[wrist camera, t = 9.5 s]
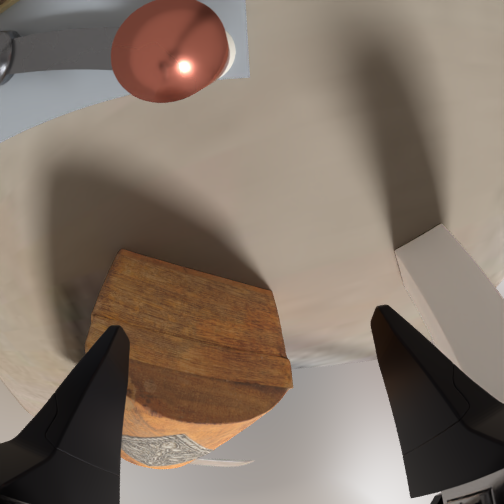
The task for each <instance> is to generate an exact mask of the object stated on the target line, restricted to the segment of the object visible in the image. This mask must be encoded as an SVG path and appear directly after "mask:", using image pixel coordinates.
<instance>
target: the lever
mask: <svg viewBox="0 0 504 504" xmlns="http://www.w3.org/2000/svg"><path fill="white" fill-rule="evenodd" d="M229 60H230V49H229V44H228V40H227V36H226V32H225V28H224V26H223V23H222V22H221V20H220V18H219V17H218V16H217V14H216V13H215V12H214V11H213V10H212V9H211V8H210V7H208V6H207V5H205V4H203V3H201V2H199V1H197V0H155V1H152V2H149V3H147V4H145V5H143V6H142V7H140V8H138V9H137V10H136V11H134V12H133V13H132V14H131V15H130V16H129V17H128V18H127V19H126V20H125V21H124V22H123V23H122V25H121V26H120V27H97V28H79V29H68V30H59V31H51V32H44V33H38V34H32V35H27V36H22V37H20V35H19V34H18V33H17V32H16V31H13V30H6V31H0V86H2V85H4V84H6V83H7V82H8V81H9V80H10V79H11V78H12V77H13V75H14V74H16V73H25V72H35V71H49V70H113V72H114V75H115V77H116V79H117V80H118V82H119V83H120V85H121V86H122V87H123V88H124V89H125V90H126V91H127V92H129V93H130V94H132V95H133V96H135V97H137V98H139V99H142V100H145V101H149V102H157V103H166V102H173V101H178V100H181V99H184V98H186V97H189V96H191V95H193V94H195V93H196V92H198V91H200V90H201V89H203V88H204V87H206V86H208V85H209V84H211V83H213V82H214V81H216V80H217V79H218V78H219V77H220V76H221V75H222V74H223V73H224V72H225V70H226V68H227V66H228V64H229Z"/></svg>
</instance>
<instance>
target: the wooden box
mask: <svg viewBox="0 0 504 504" xmlns="http://www.w3.org/2000/svg"><path fill="white" fill-rule="evenodd" d="M111 325H120V326H122V328H123V329H124V331H125V333H126V334H127V336H128V338H129V340H130V353H129V376H128V387H127V395H126V403H125V411H124V421H123V432H122V444H121V458H123V459H125V460H126V461H129V462H131V463H133V464H136V465H139V466H143V467H148V468H154V469H171V468H178V467H181V466H184V465H186V464H188V463H190V462H192V461H193V460H195V459H197V458H199V457H202V456H204V455H207V454H209V453H210V452H211V451H213V450H215V448H217V447H218V446H220V445H222V444H223V443H225V442H226V441H228V440H229V439H231V438H232V437H233V436H235V435H236V434H238V433H240V432H241V431H242V430H244V429H245V428H247V427H248V426H250V425H251V424H252V423H253V422H255V421H256V420H258V419H259V418H260V417H262V416H263V415H264V414H266V413H267V412H269V411H270V410H271V409H272V408H273V407H274V406H275V405H276V404H277V403H278V402H279V401H280V400H281V399H282V398H283V396H284V395H285V393H286V392H287V391H288V390H289V389H291V388H293V382H292V371H291V365H290V361H289V359H288V358H287V356H286V352H285V345H284V341H283V336H282V330H281V325H280V320H279V316H278V312H277V307H276V303H275V300H274V296H273V293H272V291H270V290H266V289H262V288H258V287H255V286H251V285H247V284H244V283H240V282H237V281H233V280H229V279H226V278H222V277H219V276H215V275H211V274H208V273H204V272H200V271H197V270H193V269H190V268H186V267H182V266H179V265H175V264H172V263H169V262H165V261H162V260H158V259H155V258H151V257H147V256H144V255H141V254H137V253H134V252H131V251H128V250H125V249H120V250H119V252H118V253H117V255H116V257H115V259H114V261H113V264H112V266H111V268H110V270H109V272H108V275H107V277H106V279H105V281H104V284H103V286H102V289H101V291H100V293H99V296H98V298H97V301H96V303H95V306H94V308H93V311H92V314H91V326H90V328H89V332H88V335H87V338H86V342H85V353H87V352H88V350H89V349H90V348H91V347H92V346H93V345H94V343H95V342H96V341H97V340H98V339H99V337H100V336H101V335H102V334H103V333H104V332H105V331H106V329H107V328H108V327H109V326H111Z"/></svg>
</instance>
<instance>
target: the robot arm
mask: <svg viewBox="0 0 504 504" xmlns="http://www.w3.org/2000/svg"><path fill="white" fill-rule="evenodd" d="M371 329H372V334H373V339H374V344H375V349H376V354H377V359H378V363H379V367H380V370H381V373H382V377H383V380H384V383H385V387H386V390H387V394H388V397H389V401H390V405H391V408H392V412H393V416H394V420H395V424H396V428H397V432H398V436H399V441H400V445H401V449H402V455H403V460H404V465H405V470H406V475H407V480H408V486H409V491H410V497H411V498H415V497H420V496H424V495H428V494H432V493H436V492H440V491H441V493H440V494H438V495H436V496H435V497H434V499H433V501H432V502H431V504H504V403H502V402H500V401H498V400H497V399H496V398H494V397H493V396H492V395H490V394H489V393H488V392H487V391H485V390H484V389H483V388H482V387H480V386H479V385H478V384H477V383H475V382H474V381H473V380H472V379H470V378H469V377H468V376H467V375H466V374H465V373H464V372H463V371H461V370H460V369H459V368H458V367H457V366H456V365H455V364H453V362H452V361H451V360H450V359H448V358H447V357H446V356H445V355H444V354H443V353H442V352H441V351H440V350H439V349H438V348H436V347H435V346H434V345H433V344H432V343H431V342H430V341H429V340H428V339H426V338H425V337H424V336H423V335H422V334H421V333H420V332H419V331H418V330H416V329H415V328H414V327H413V326H412V325H411V324H410V323H408V322H407V321H406V320H405V319H404V318H403V317H402V316H400V315H399V314H398V313H397V312H396V311H395V310H393V309H392V308H391V307H390V306H389V305H380V306H377V307H376V309H375V311H374V314H373V316H372V319H371ZM129 353H130V340H129V338H128V336H127V334H126V333H125V331H124V329H123V328H122V326H120V325H111V326H109V327H108V328H107V329H106V331H105V332H104V333H103V334H102V335H101V336H100V337H99V339H98V340H97V341H96V342H95V343H94V345H93V346H92V347H91V348H90V349H89V350H88V352H87V353H86V354H85V355H84V356H83V358H82V359H81V360H80V361H79V363H78V364H77V365H76V366H75V367H74V369H73V370H72V371H71V372H70V374H69V375H68V376H67V377H66V379H65V380H64V381H63V382H62V384H61V385H60V386H59V387H58V389H57V390H56V391H55V393H54V394H53V395H52V396H51V398H50V399H49V400H48V401H47V403H46V404H45V405H44V406H43V408H42V409H41V410H40V411H39V412H38V413H37V415H36V416H35V417H34V418H33V419H32V420H31V421H30V422H29V423H28V424H27V426H26V427H25V428H24V429H23V430H22V431H21V432H20V433H19V434H18V435H17V436H16V437H15V438H13V439H12V440H10V441H7V442H4V443H0V504H119V502H120V501H119V499H120V460H121V444H122V432H123V421H124V411H125V403H126V395H127V387H128V376H129Z"/></svg>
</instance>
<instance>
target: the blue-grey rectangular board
mask: <svg viewBox="0 0 504 504" xmlns="http://www.w3.org/2000/svg"><path fill="white" fill-rule="evenodd" d="M152 1H155V0H6V1H5V2H4V3H3V4H1V5H0V31H6V30H13V31H16V32H17V33H18V34H19V35H20V37H22V36H27V35H32V34H38V33H44V32H51V31H59V30H68V29H79V28H97V27H120V26H121V25H122V23H123V22H124V21H125V20H126V19H127V18H128V17H129V16H130V15H131V14H132V13H133V12H134V11H136V10H137V9H138V8H140V7H142V6H143V5H145V4H147V3H149V2H152ZM197 1H199V2H201V3H203V4H205V5H207V6H208V7H210V8H211V9H212V10H213V11H214V12H215V13H216V14H217V16H218V17H219V18H220V20H221V22H222V23H223V26H224V28H225V32H226V36H227V40H228V44H229V49H230V60H229V64H228V66H227V68H226V70H225V72H224V73H223V74H222V75H221V76H220V77H219V78H218V79H217V80H221V79H233V78H248V77H250V71H249V54H248V37H247V20H246V4H245V0H197ZM126 95H131V94H130V93H129V92H127V91H126V90H125V89H124V88H123V87H122V86H121V85H120V83H119V82H118V80H117V79H116V77H115V75H114V72H113V70H49V71H35V72H25V73H16V74H14V75H13V77H12V78H11V79H10V80H9V81H8V82H7V83H6V84H4V85H2V86H0V143H1V142H3V141H5V140H7V139H9V138H11V137H13V136H15V135H17V134H19V133H21V132H23V131H25V130H27V129H30V128H32V127H34V126H37V125H39V124H41V123H44V122H46V121H49V120H51V119H54V118H56V117H59V116H62V115H64V114H67V113H70V112H73V111H75V110H78V109H81V108H84V107H88V106H91V105H94V104H97V103H101V102H104V101H108V100H111V99H115V98H119V97H122V96H126Z"/></svg>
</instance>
